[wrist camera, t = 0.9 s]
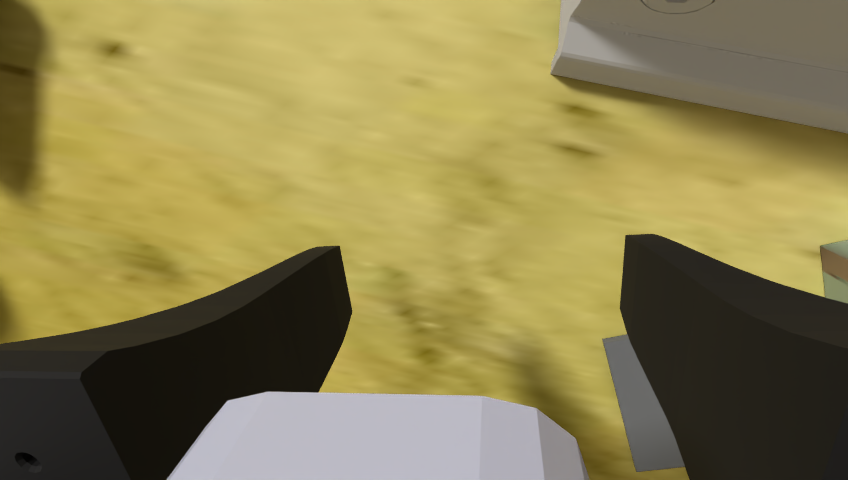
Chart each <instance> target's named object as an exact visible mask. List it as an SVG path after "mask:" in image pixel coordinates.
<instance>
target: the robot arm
mask: <svg viewBox="0 0 848 480" xmlns="http://www.w3.org/2000/svg"><path fill="white" fill-rule="evenodd" d="M620 310H621V314H622V317H623V321H624V324H625V328H626V331H627V334H628V337H629V340H630V343H631V345H632V347H633V349H634V352H635V354H636V356H637V358H638V360H639V362H640V364H641V366H642V368H643V371H644V373H645V375H646V377H647V379H648V381H649V383H650V385H651V387H652V389H653V391H654V393H655V395H656V397H657V399H658V401H659V404H660V406H661V408H662V410H663V412H664V414H665V416H666V418H667V420H668V423H669V425H670V427H671V430H672V432H673V434H674V437H675V439H676V442H677V445H678V448H679V451H680V454H681V457H682V459H683V462H684V465H685V468H686V471H687V474H688V477H689V479H690V480H848V303H844V302H840V301H837V300H833V299H829V298H825V297H821V296H818V295H814V294H811V293H808V292H804V291H801V290H798V289H794V288H791V287H788V286H784V285H781V284H778V283H775V282H773V281H770V280H767V279H764V278H761V277H759V276H756V275H753V274H751V273H748V272H745V271H743V270H740V269H738V268H735V267H733V266H730V265H728V264H725V263H723V262H721V261H718V260H716V259H713V258H711V257H709V256H707V255H704V254H702V253H700V252H698V251H695V250H693V249H691V248H688V247H686V246H684V245H682V244H679V243H677V242H675V241H672V240H670V239H667V238H665V237H662V236H659V235H655V234H641V235H626V237H625V250H624V263H623V276H622V288H621V301H620ZM351 314H352V307H351V302H350V297H349V292H348V287H347V282H346V276H345V271H344V266H343V261H342V256H341V251H340V246H323V247H315V248H312V249H309V250H306V251H304V252H302V253H299V254H297V255H295V256H293V257H291V258H289V259H287V260H285V261H283V262H281V263H279V264H277V265H275V266H273V267H271V268H269V269H267V270H265V271H262V272H260V273H258V274H256V275H254V276H252V277H250V278H247V279H245V280H243V281H241V282H239V283H237V284H234V285H232V286H230V287H228V288H226V289H223V290H221V291H218V292H216V293H213V294H211V295H208V296H206V297H203V298H200V299H198V300H195V301H192V302H189V303H187V304H184V305H181V306H178V307H174V308H171V309H167V310H164V311H161V312H157V313H154V314H150V315H147V316H144V317H140V318H137V319H133V320H129V321H125V322H121V323H116V324H112V325H108V326H103V327H99V328H94V329H89V330H84V331H79V332H74V333H69V334H63V335H56V336H50V337H44V338H37V339H31V340H25V341H18V342H11V343H4V344H0V480H589V476H588V473H587V470H586V467H585V464H584V461H583V458H582V455H581V452H580V449H579V446H578V443H577V440H576V438H575V437H573V436H572V435H571V434H569V433H568V432H567V431H566V430H564V429H563V428H562V427H560V426H559V425H558V424H556V423H555V422H554V421H553V420H551V419H550V418H549V417H547V416H546V415H545V414H543V413H542V412H541V411H540V410H538V409H537V408H534V407H529V406H525V405H520V404H516V403H511V402H507V401H502V400H498V399H493V398H489V397H485V396H459V395H410V394H361V393H318V392H319V390H320V388H321V386H322V384H323V382H324V380H325V378H326V376H327V374H328V372H329V370H330V368H331V366H332V364H333V362H334V360H335V358H336V356H337V354H338V351H339V349H340V347H341V345H342V343H343V340H344V337H345V334H346V331H347V328H348V325H349V321H350V318H351Z"/></svg>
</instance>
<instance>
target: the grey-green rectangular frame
mask: <svg viewBox="0 0 848 480" xmlns="http://www.w3.org/2000/svg"><path fill="white" fill-rule="evenodd" d="M820 250H821V259H822V269H823V278H824V288H825V297H826V298H829V299H833V300H837V301H840V302H844V303H848V240H845V241H840V242H836V243H831V244H826V245H822V246H820Z"/></svg>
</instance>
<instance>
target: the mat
mask: <svg viewBox="0 0 848 480" xmlns="http://www.w3.org/2000/svg"><path fill="white" fill-rule="evenodd" d="M603 343H604V347H605V351H606V355H607V359H608V363H609V367H610V371H611V375H612V379H613V383H614V387H615V391H616V395H617V398H618V402H619V406H620V410H621V414H622V418H623V422H624V426H625V430H626V434H627V438H628V442H629V446H630V450H631V454H632V458H633V461H634V465H635V469H636V472H641V471H650V470H659V469H668V468H677V467H685V465H684V462H683V459H682V457H681V454H680V451H679V448H678V445H677V442H676V439H675V437H674V434H673V432H672V430H671V427H670V425H669V423H668V420H667V418H666V416H665V414H664V412H663V410H662V408H661V406H660V404H659V401H658V399H657V397H656V395H655V393H654V391H653V389H652V387H651V385H650V383H649V381H648V379H647V377H646V375H645V373H644V371H643V368H642V366H641V364H640V362H639V360H638V358H637V356H636V354H635V352H634V349H633V347H632V345H631V343H630V340H629V337H628V334H627V335H622V336H617V337H611V338H606V339H603Z"/></svg>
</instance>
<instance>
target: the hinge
mask: <svg viewBox="0 0 848 480" xmlns="http://www.w3.org/2000/svg"><path fill="white" fill-rule="evenodd" d="M551 74H553V75H558V76H563V77H568V78H573V79H578V80H583V81H588V82H593V83H598V84H603V85H608V86H613V87H618V88H623V89H628V90H633V91H638V92H643V93H648V94H653V95H658V96H663V97H668V98H673V99H678V100H683V101H688V102H693V103H698V104H703V105H708V106H713V107H718V108H723V109H728V110H733V111H738V112H743V113H748V114H753V115H758V116H763V117H768V118H773V119H778V120H783V121H788V122H793V123H798V124H803V125H808V126H813V127H818V128H823V129H828V130H833V131H838V132H843V133H848V0H561V10H560V27H559V43H558V49H557V51H556V53H555V55H554V58H553V60H552V65H551Z"/></svg>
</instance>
